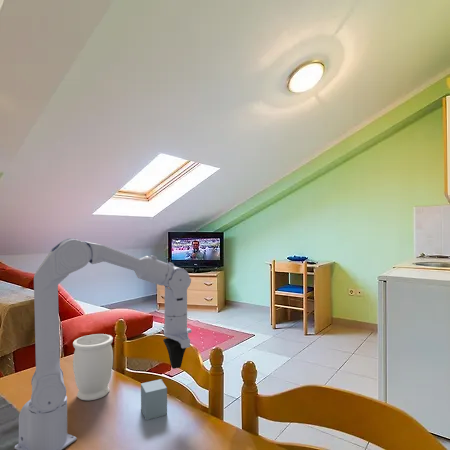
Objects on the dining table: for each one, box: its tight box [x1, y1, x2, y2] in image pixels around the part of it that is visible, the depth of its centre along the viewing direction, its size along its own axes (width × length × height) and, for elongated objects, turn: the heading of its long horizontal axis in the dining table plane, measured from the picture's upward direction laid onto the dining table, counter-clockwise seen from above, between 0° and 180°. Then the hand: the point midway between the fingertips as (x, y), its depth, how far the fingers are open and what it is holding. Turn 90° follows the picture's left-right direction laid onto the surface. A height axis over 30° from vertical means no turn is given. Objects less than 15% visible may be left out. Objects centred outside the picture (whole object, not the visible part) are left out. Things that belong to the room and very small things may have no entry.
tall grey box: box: [140, 378, 168, 421], centre depth 83 cm, size 5×5×7 cm
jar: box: [72, 333, 114, 401], centre depth 92 cm, size 11×10×15 cm
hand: (176, 367), depth 85 cm, fingers closed
